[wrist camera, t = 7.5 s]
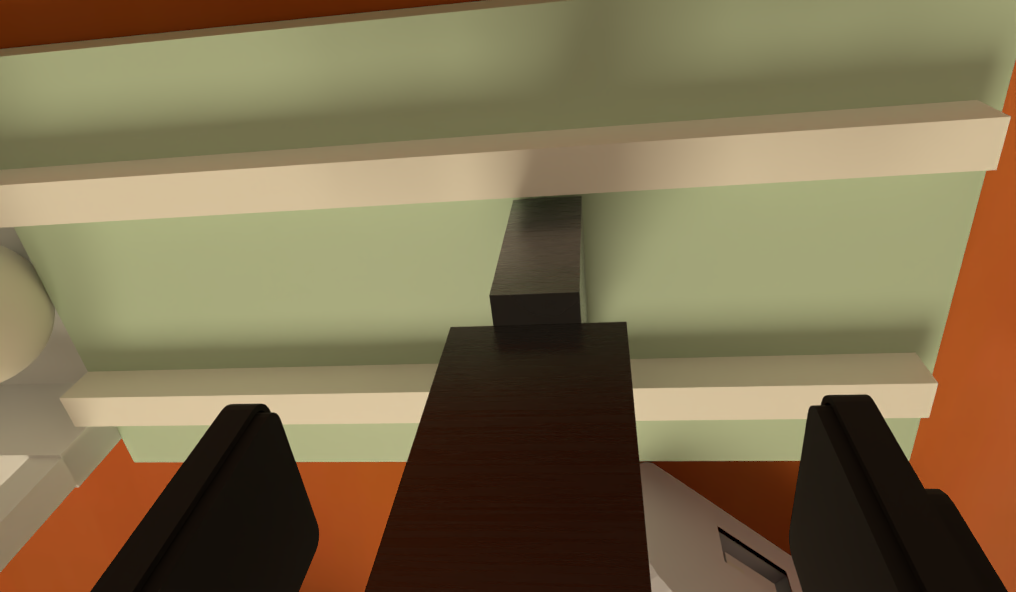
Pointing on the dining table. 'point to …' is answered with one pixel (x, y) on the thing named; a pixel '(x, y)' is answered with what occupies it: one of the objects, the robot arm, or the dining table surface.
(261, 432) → the robot arm
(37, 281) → the ball
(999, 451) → the dining table surface
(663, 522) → the charger
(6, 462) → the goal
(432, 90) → the pitch
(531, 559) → the block
